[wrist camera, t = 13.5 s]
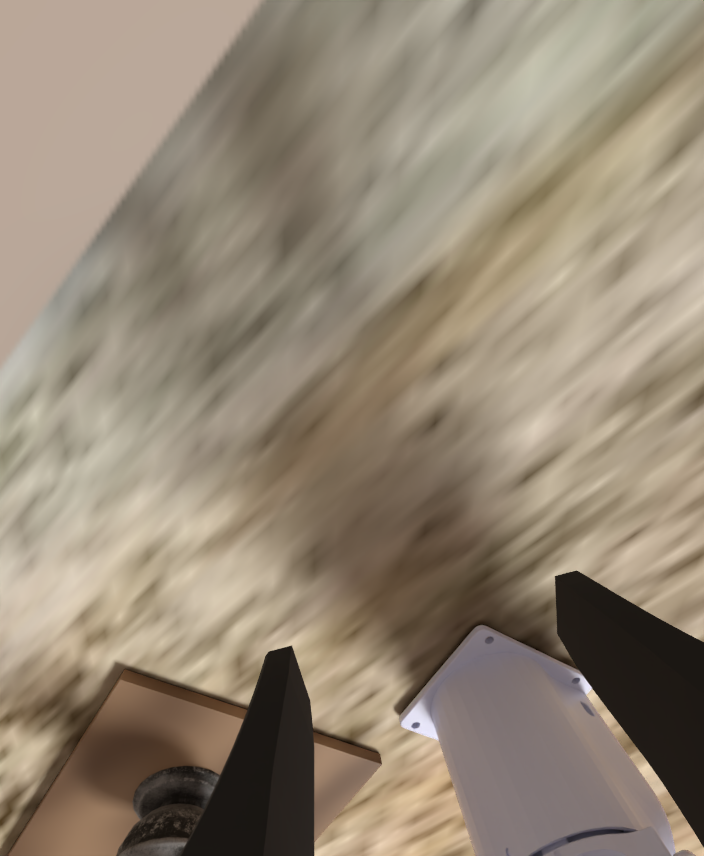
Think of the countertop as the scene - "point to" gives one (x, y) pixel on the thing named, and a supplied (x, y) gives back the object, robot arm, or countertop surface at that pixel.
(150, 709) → the walnut board
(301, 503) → the countertop surface
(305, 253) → the countertop surface
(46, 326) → the countertop surface
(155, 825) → the dark grey turned piece
